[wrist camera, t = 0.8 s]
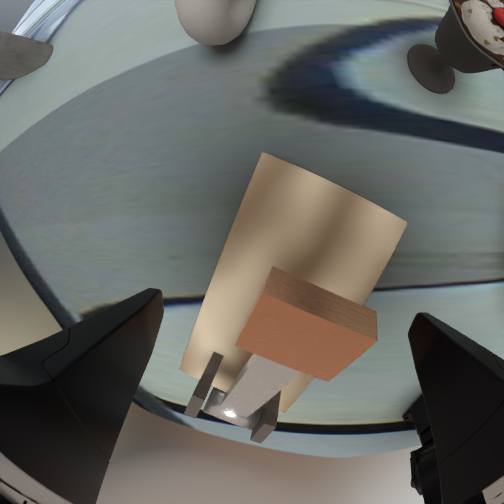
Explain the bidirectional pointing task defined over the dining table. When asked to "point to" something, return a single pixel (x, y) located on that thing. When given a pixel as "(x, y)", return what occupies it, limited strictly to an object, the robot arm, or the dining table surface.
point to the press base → (285, 268)
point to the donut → (214, 19)
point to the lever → (291, 343)
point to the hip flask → (21, 55)
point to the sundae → (461, 44)
